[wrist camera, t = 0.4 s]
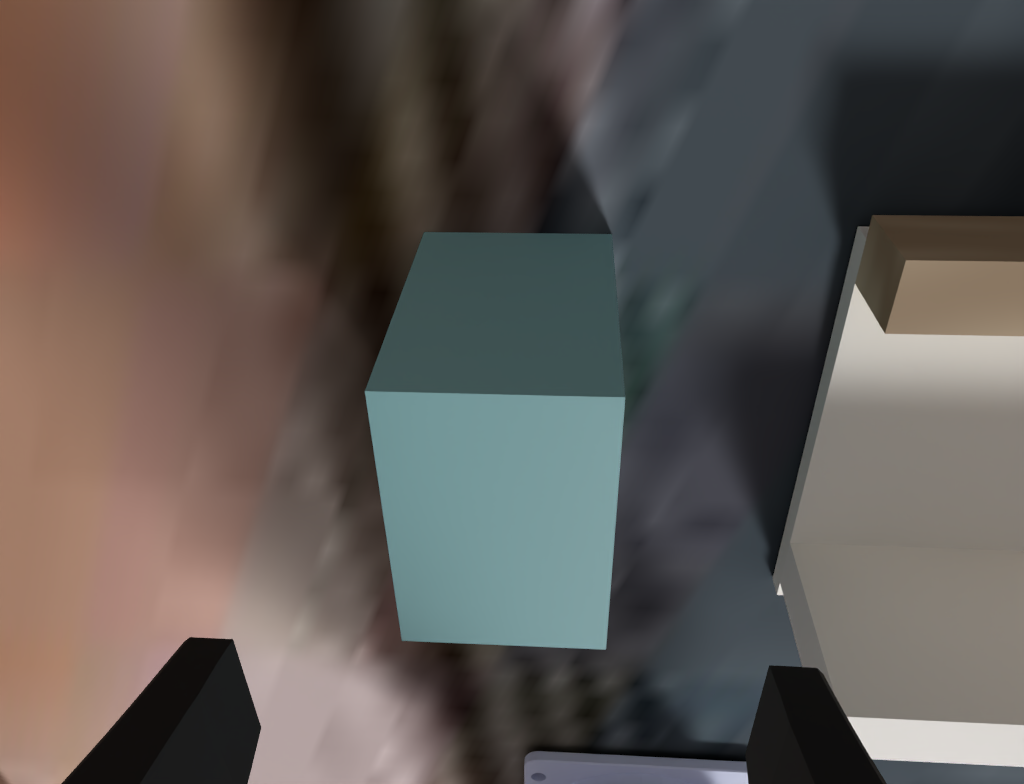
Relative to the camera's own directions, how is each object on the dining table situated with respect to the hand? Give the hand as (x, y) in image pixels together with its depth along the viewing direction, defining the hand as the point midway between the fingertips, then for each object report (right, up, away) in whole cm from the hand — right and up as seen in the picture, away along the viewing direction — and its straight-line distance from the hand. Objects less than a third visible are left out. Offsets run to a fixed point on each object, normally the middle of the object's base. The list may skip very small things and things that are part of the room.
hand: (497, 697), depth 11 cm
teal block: (0, +5, +8) cm, 9 cm away
